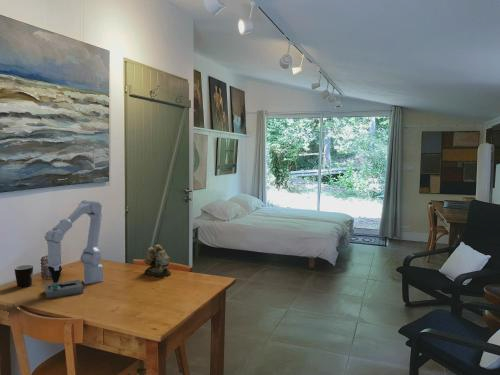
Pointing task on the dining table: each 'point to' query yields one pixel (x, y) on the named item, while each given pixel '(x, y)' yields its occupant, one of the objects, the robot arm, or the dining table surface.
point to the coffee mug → (24, 275)
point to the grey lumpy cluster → (157, 262)
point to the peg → (54, 285)
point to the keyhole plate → (64, 289)
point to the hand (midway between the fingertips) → (55, 281)
